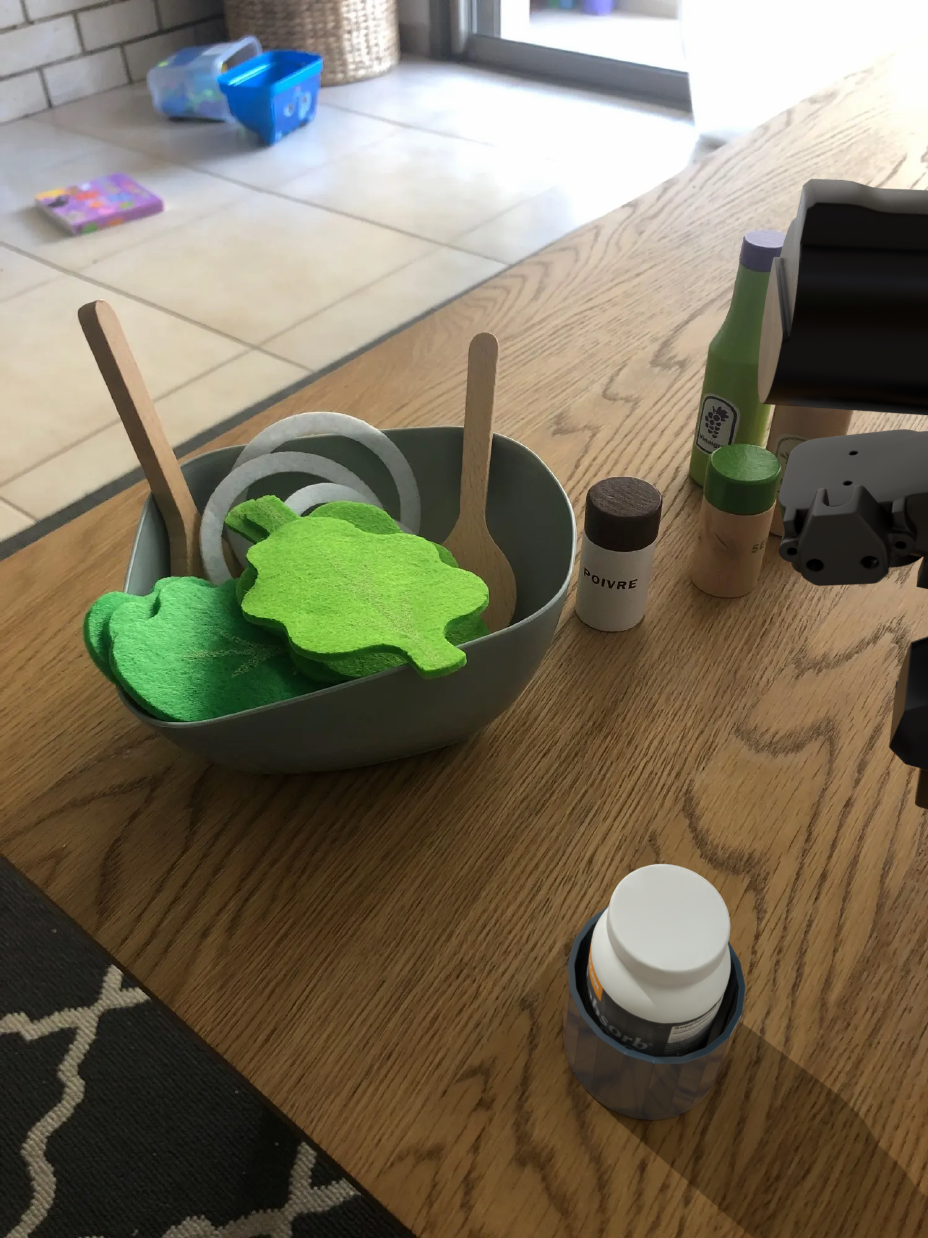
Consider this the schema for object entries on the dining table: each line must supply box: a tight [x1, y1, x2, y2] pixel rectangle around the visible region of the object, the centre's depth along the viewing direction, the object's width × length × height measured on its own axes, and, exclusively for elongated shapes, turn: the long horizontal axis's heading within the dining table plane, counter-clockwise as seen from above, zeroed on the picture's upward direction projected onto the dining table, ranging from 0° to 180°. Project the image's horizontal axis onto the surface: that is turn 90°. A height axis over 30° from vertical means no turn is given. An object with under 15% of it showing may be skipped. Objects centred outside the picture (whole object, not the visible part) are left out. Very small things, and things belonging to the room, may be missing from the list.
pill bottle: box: [582, 863, 732, 1057], centre depth 42 cm, size 6×6×10 cm
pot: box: [562, 905, 747, 1121], centre depth 44 cm, size 7×7×6 cm
